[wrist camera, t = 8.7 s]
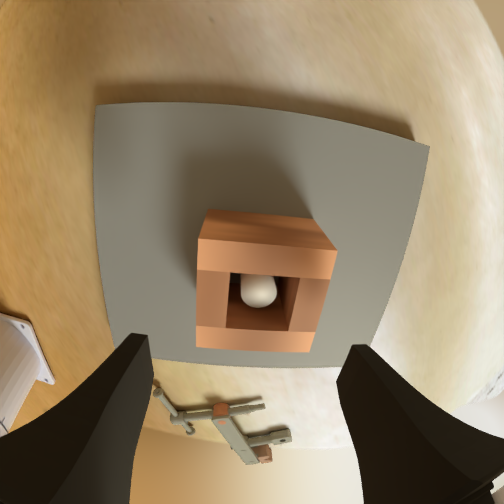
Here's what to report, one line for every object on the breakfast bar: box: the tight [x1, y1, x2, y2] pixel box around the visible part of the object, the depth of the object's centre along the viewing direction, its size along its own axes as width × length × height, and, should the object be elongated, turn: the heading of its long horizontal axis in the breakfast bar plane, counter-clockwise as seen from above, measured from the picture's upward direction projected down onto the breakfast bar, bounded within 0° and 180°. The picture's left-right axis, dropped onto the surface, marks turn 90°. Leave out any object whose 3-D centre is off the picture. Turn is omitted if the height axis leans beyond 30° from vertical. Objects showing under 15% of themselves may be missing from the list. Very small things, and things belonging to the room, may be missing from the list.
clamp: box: [153, 388, 292, 465], centre depth 24 cm, size 15×2×10 cm
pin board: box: [93, 102, 430, 368], centre depth 15 cm, size 18×16×4 cm
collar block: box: [196, 209, 338, 352], centre depth 14 cm, size 5×5×4 cm
